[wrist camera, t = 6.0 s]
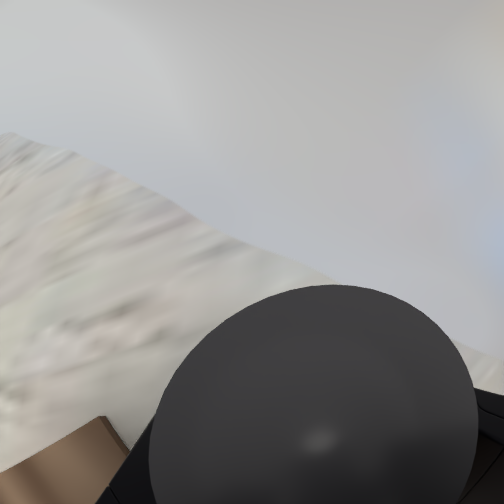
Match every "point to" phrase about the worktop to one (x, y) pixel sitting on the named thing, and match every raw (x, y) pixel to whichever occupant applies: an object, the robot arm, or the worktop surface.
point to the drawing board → (67, 468)
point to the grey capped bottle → (317, 407)
